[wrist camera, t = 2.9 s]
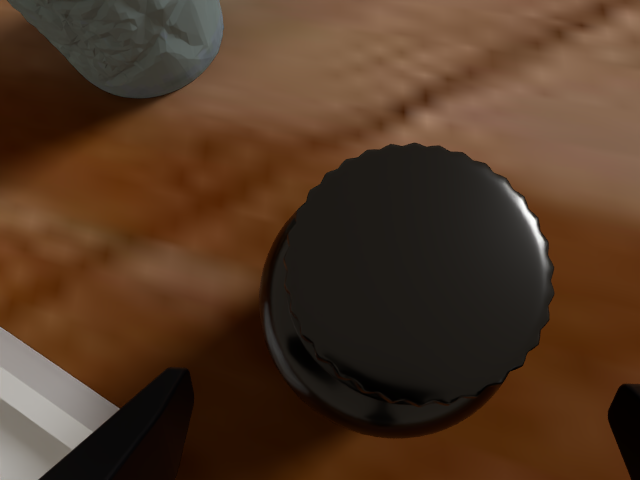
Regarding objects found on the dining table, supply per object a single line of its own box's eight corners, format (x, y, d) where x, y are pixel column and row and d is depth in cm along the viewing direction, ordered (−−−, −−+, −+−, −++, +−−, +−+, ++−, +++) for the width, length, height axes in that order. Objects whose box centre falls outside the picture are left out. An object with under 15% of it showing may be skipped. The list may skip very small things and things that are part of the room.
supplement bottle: (256, 338, 19) (138, 284, 7) (351, 223, 20) (374, 31, 9) (382, 446, 17) (475, 586, 6) (475, 315, 19) (691, 225, 7)
